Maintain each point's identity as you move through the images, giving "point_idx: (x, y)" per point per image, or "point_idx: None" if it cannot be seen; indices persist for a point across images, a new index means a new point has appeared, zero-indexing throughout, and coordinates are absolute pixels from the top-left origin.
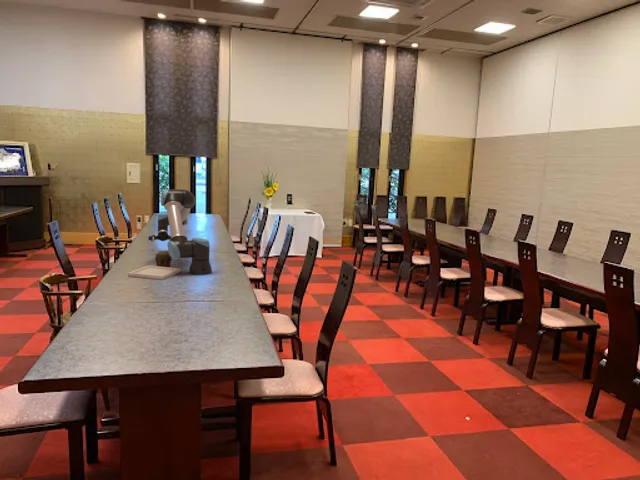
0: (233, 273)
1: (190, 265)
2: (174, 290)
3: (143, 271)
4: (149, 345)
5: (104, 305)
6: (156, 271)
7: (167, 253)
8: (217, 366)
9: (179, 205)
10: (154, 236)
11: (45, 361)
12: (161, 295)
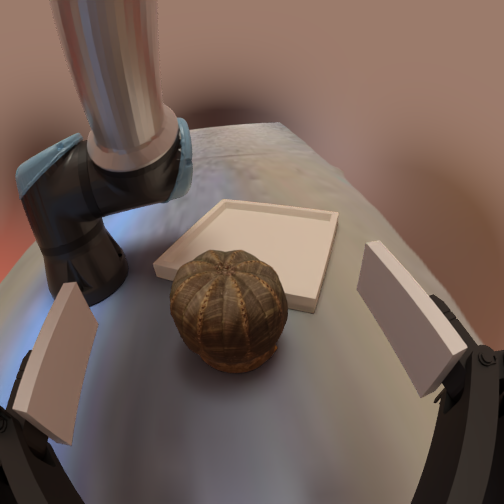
0: (22, 271)
1: (114, 248)
2: (198, 177)
3: (308, 252)
4: (224, 131)
5: (290, 149)
6: (255, 256)
7: (196, 257)
8: None
9: None
10: (484, 436)
11: (281, 125)
12: (220, 166)
